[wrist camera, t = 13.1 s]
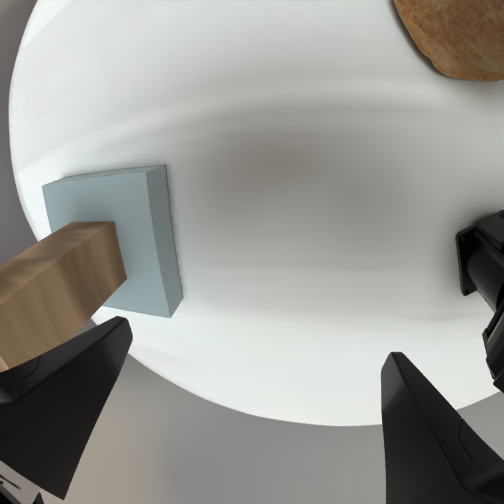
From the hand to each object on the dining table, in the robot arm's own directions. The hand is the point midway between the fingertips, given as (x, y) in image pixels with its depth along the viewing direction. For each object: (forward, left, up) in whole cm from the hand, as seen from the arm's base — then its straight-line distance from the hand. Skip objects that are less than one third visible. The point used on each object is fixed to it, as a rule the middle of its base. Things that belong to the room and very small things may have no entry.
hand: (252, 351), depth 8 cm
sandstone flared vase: (+8, -22, -13) cm, 27 cm away
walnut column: (+5, +14, -10) cm, 18 cm away
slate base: (+5, +14, -13) cm, 20 cm away
